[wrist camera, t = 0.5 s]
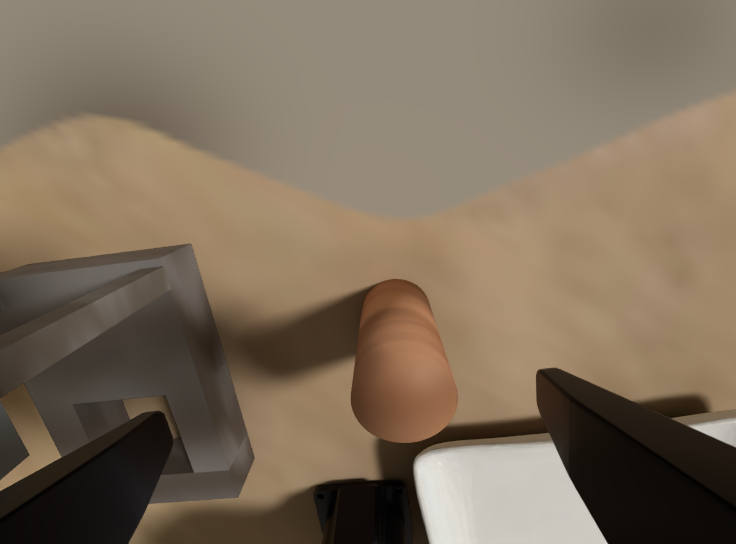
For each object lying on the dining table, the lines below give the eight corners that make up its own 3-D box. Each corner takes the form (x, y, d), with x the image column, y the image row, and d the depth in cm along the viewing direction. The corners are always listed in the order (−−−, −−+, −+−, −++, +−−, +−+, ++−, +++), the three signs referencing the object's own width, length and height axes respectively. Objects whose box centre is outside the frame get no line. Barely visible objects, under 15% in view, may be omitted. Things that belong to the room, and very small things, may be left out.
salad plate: (446, 620, 30) (453, 677, 27) (405, 418, 24) (408, 460, 20) (713, 598, 28) (756, 657, 25) (746, 371, 22) (811, 409, 18)
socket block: (268, 457, 25) (155, 759, 12) (107, 469, 26) (-148, 763, 13) (208, 241, 20) (-75, 382, 8) (12, 266, 21) (-524, 428, 8)
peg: (432, 337, 21) (460, 438, 14) (366, 344, 22) (358, 446, 14) (427, 275, 20) (454, 348, 13) (357, 283, 20) (343, 359, 13)
